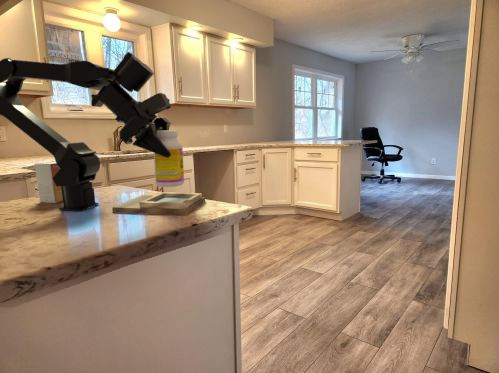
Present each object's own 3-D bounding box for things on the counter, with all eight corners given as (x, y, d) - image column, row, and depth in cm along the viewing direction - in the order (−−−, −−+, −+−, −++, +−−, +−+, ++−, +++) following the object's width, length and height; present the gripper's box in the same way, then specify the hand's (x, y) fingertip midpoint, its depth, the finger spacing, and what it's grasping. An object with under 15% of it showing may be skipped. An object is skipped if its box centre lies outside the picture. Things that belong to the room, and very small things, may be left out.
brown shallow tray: (112, 212, 74) (111, 202, 73) (142, 199, 86) (141, 190, 86) (184, 215, 70) (184, 205, 70) (205, 201, 82) (204, 192, 82)
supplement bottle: (186, 186, 74) (183, 130, 71) (156, 188, 72) (152, 131, 69) (182, 181, 80) (179, 130, 78) (155, 183, 78) (151, 130, 76)
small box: (55, 203, 83) (49, 163, 81) (39, 202, 85) (33, 163, 83) (80, 197, 91) (75, 160, 89) (65, 196, 92) (60, 160, 90)
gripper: (129, 74, 62) (187, 131, 64) (160, 85, 81) (205, 129, 82) (94, 115, 64) (151, 169, 66) (132, 117, 83) (176, 159, 84)
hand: (174, 154), depth 75 cm, fingers closed on supplement bottle, 7 cm apart
